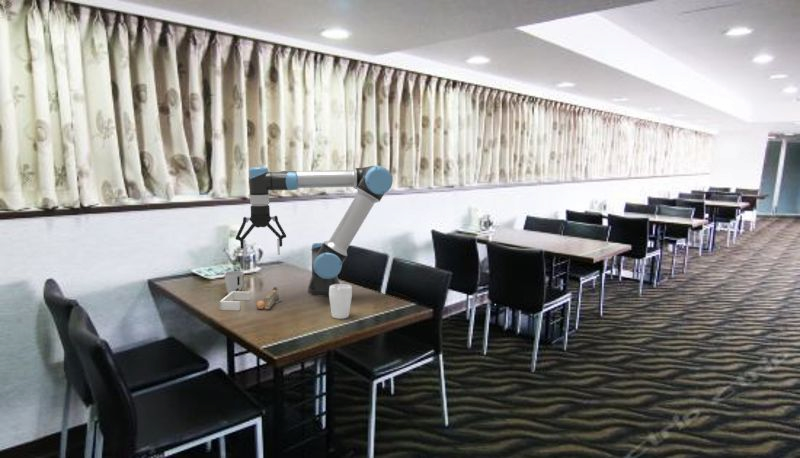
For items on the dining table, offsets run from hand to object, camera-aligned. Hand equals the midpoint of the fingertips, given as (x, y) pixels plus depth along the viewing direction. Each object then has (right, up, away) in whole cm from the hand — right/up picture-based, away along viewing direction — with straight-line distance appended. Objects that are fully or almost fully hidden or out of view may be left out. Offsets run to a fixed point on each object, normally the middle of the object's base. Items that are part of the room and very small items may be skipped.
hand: (262, 255), depth 194 cm
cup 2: (+34, -24, -11) cm, 43 cm away
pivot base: (+4, -20, +6) cm, 21 cm away
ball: (+1, -20, -5) cm, 21 cm away
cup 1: (-16, -19, +13) cm, 28 cm away
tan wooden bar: (+4, -20, 0) cm, 21 cm away
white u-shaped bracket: (-11, -21, -1) cm, 23 cm away
